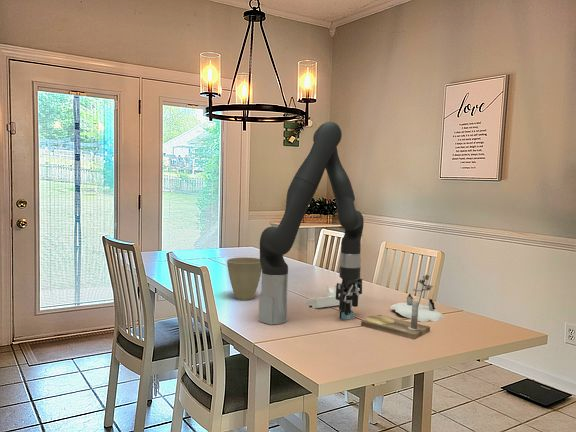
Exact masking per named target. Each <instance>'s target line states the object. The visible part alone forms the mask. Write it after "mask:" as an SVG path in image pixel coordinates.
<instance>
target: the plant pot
mask: <svg viewBox="0 0 576 432" xmlns="http://www.w3.org/2000/svg"><path fill="white" fill-rule="evenodd" d="M226 264H227V265H226V266H227V271H228V272H227V273H228V277H229V281H230V285H231V288H232V292H233V295H234V297H235V299H236V298H237V299H236V300H238V299H241V300H240V301H249V299H250V300H252V299H254V297H255V295H256V292H257V289H258V286H259V282H260V279H261V276H262V267H261V264H260V258H257V257H248V256H247V257H245V256H244V257H243V256H241V257H231V258H227V260H226Z"/></svg>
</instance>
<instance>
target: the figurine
mask: <svg viewBox="0 0 576 432" xmlns="http://www.w3.org/2000/svg"><path fill="white" fill-rule="evenodd" d="M429 280H430V274H425V275H422V279H419V280H418V281H417V282H418V283H420V284H421V285H422V287H421V289H416V288H413V289H412V290H413V291H414V292H420V296H419V299H418V321H417V322H421V323H427V322H429V321H432V322H437V321H440V320H442V319H444V315H443V314H442V313H441V312H439V311H438V310H437V309H436V307H435V302H434V301H433V299H431V298H428V305H423V304H421V303H420V302H421V298H422V294H423V292H424V291H431V290H432V288H433V287H434V286H433V285H431V284H425V283H426V281H429ZM412 302H414V298H413V296H412V294H411V293H409V294H408V295H407V297H406V302H397V303H395V304H391V306H390V308H389V309H392V310H393V311H394V310H395V313H398V314H399V315H401V316H402V317H405V318H407V319H410V320H411V318H412Z"/></svg>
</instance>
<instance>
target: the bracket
mask: <svg viewBox="0 0 576 432" xmlns="http://www.w3.org/2000/svg"><path fill="white" fill-rule="evenodd" d="M326 293H327V296H323V297H315V298H307V299H306V306H309V307H310V306H311V307H312V309H319V308H326V307H335V306H339V300H336V285H335V289H334V286H333V285H331V286H326ZM339 296H340V294H339Z"/></svg>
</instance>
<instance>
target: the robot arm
mask: <svg viewBox="0 0 576 432" xmlns="http://www.w3.org/2000/svg"><path fill="white" fill-rule="evenodd" d="M312 140H313V144H312V146H311V148H310V151H309V153H308V154H307V156H306V157H305V158H304V161H303V162H302V164H301V165H300V166H299V168H298V169H297V171H296V173H295V174H294V176H293V178H292V180H291V182H290V185H289V186H288V189H287V192H286V200H285V211H284V214H283V216H282V218H281V220H280V222H279V224H278V226H268V227H266V228H265V229H264V230H262V232H261V235H260V239H259V259H260V264H261V267H262V271H261V286H260V287H261V291H260V294H259V295H258V322H260V323H263V324H266V325H271V326H272V325H281V324H285V323H286V322H287V319H288V318H287V317H288V316H287V314H288V289H289V288H288V285H289V284H288V283H289V282H288V280H289V265H288V264H287V263H286V261H285V258H284V255H286V254H287V253H289V252H290V251H291V249H292V247H293V246H294V244H295V241H296V238H297V235H298V232H299V229H300V226H301V224H302V221H303V219H304V217H305V214H306V212H307V210H308V208H309V206H310V204H311V202H312V200H313V198H314V196H315V194H316V192H317V190H318V187H319V185H320V183H321V180H322V177H323V175H324V172H325V171H326V172H327V176H328V180H329V183H330V185H331V189H332V192H333V193H332V194H333V195H334V198H335V202H336V211H337V216H338V217H337V218H338V222H339V224H340V226H341V227H342V229H343V230H344V235H343V237H342V239H341V241H340V242H341V243H340V244H341V245H340V257H339V278H340V279H341V283H338V282H337V283H336V285H335V286H336V300H339V305H338V307H339V312H340V311H343V312H344V311H345V310H346V298H347V296H349V294H350V292H353V294H355V296H354V300H352V307H354V308H358V307H359V297H360V295H362V294H363V279H362V278H361V267H362V265H361V264H362V258H361V249H362V248H361V245H362V244H361V243H362V242H361V240H362V236H363V229H364V223H365V222H364V221H365V220H364V216H363V214H362V212H360V211H359V210H356V208H355V199H356V198H355V193H354V190H353V186H352V183H351V181H350V178H349V176H348V174H347V171H346V170H345V169H344V167H343V164H342V162H341V160H340V157H339V153H338V152H339V151H338V145H340V143H341V140H342V129H341V128H340V125H339V124H338V123H337V122H333V121H326V122H324V123H322V124H321V125H319V127H317V128H316V130H315V132H314V134H313V139H312ZM344 292H347V293H344ZM339 294H340V296H339ZM343 295H344V298H343Z"/></svg>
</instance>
